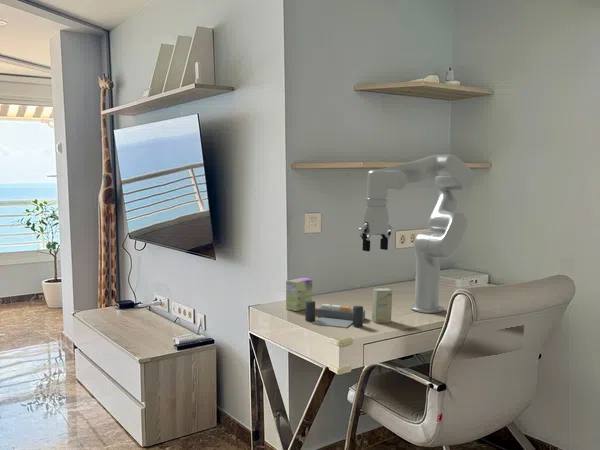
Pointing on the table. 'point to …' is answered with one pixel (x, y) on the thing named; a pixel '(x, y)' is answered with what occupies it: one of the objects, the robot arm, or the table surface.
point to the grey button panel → (335, 316)
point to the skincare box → (382, 305)
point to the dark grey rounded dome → (310, 311)
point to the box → (298, 293)
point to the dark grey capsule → (357, 316)
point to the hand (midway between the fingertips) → (375, 250)
